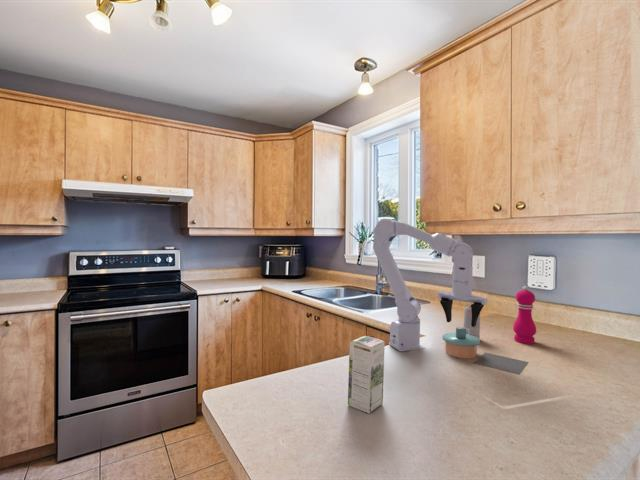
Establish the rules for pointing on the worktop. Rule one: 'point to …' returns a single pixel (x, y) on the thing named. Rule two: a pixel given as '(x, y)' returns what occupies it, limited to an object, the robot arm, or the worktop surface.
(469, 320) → the energy drink
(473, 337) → the cover
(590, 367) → the worktop surface
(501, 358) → the mat
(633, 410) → the worktop surface
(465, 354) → the bowl
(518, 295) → the pepper mill
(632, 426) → the worktop surface
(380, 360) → the syrup box
